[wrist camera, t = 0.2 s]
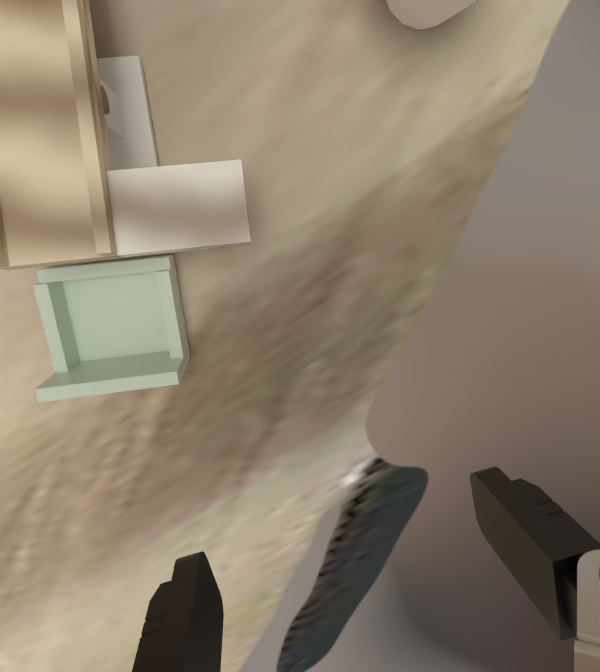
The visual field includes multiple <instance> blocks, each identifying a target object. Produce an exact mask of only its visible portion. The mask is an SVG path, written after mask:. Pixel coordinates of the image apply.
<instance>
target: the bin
mask: <svg viewBox="0 0 600 672" xmlns="http://www.w3.org/2000/svg"><path fill="white" fill-rule="evenodd" d="M36 273H37V277H38V281H39V284H35V285H33V287H34V291H35V295H36V299H37V303H38V307H39V311H40V315H41V319H42V323H43V327H44V331H45V335H46V339H47V343H48V347H49V351H50V355H51V359H52V363H53V367H54V371H55V374H53V375H52V376H51V377H50V378H48V379H47V380H46V381H45V382H43V383H42V384H41V385H40V386H38V387H37V388H36V389H35V392H36V396H37V400H38V402H44V401H52V400H60V399H68V398H75V397H83V396H91V395H99V394H107V393H115V392H122V391H130V390H138V389H146V388H154V387H161V386H169V385H177V384H179V383H180V381H181V378H182V376H183V374H184V371H185V369H186V367H187V364H188V362H189V359H190V357H191V356H190V350H189V344H188V338H187V332H186V326H185V320H184V314H183V308H182V301H181V295H180V289H179V283H178V277H177V271H176V265H175V259H174V254H173V255H164V256H154V257H144V258H134V259H125V260H115V261H105V262H96V263H86V264H76V265H67V266H57V267H49V268H44V269H40V270H36Z"/></svg>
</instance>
